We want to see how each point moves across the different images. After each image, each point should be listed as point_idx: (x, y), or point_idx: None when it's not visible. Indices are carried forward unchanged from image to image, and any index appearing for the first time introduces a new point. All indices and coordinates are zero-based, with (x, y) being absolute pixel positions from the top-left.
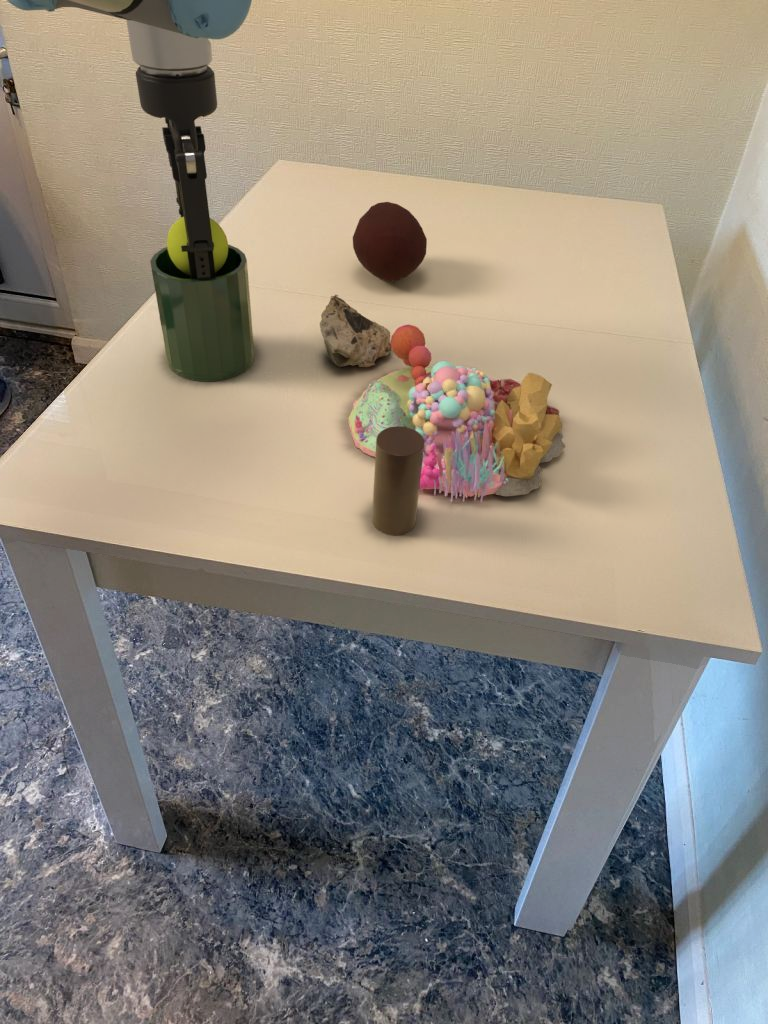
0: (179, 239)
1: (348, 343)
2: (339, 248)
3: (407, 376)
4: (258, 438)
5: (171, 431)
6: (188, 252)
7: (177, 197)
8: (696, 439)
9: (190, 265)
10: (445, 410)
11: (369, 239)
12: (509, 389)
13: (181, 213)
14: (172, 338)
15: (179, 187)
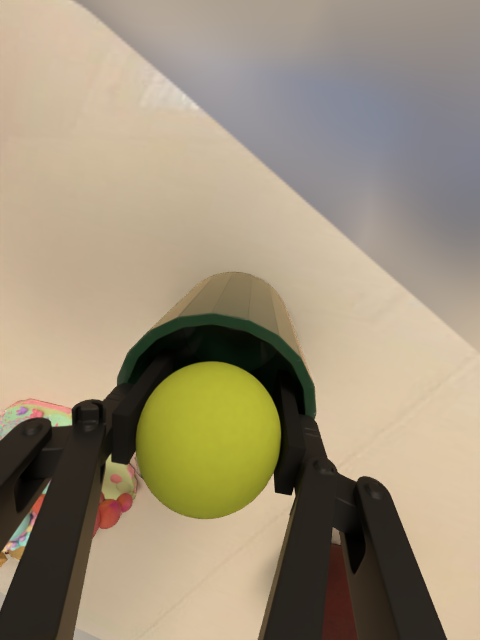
0: (158, 414)
1: (138, 471)
2: (428, 540)
3: (118, 483)
4: (59, 322)
5: (90, 236)
6: (116, 409)
7: (372, 499)
8: (6, 591)
9: (131, 390)
10: None
11: (326, 599)
12: None
13: (305, 467)
14: (196, 289)
15: (50, 613)
